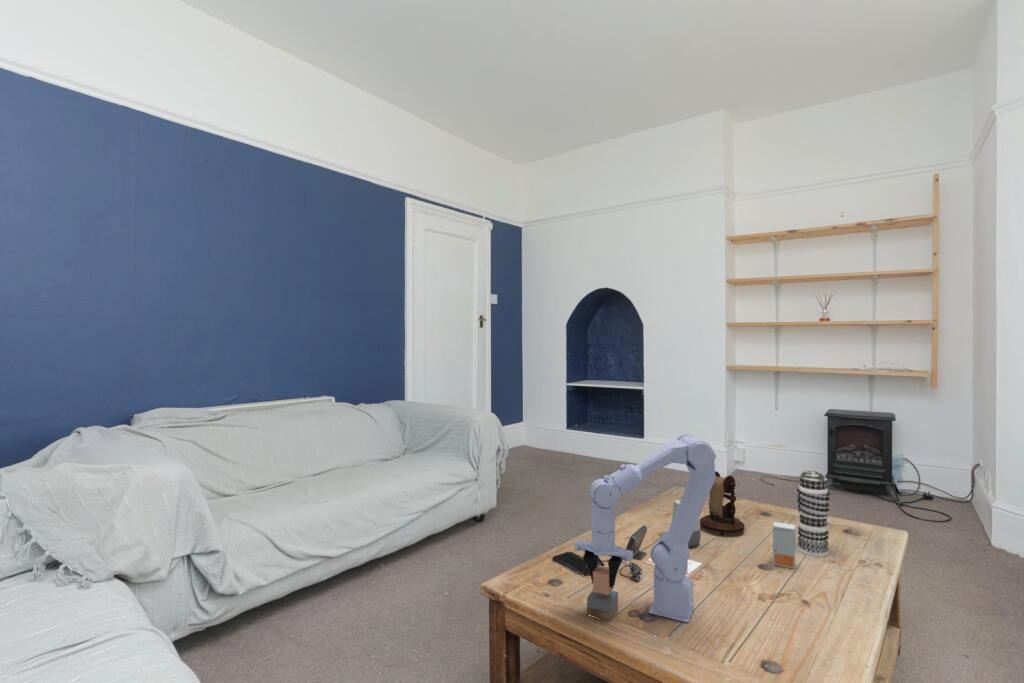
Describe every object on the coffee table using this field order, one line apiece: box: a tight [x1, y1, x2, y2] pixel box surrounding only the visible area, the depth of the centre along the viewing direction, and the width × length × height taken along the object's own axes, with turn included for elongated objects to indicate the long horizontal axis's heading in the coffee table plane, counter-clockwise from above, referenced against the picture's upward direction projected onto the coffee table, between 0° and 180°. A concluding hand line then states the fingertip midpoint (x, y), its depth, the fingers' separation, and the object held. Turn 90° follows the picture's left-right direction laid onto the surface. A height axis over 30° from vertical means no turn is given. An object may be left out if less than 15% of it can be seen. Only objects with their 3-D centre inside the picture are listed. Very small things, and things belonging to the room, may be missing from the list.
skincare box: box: [772, 521, 797, 570], centre depth 158 cm, size 6×4×12 cm
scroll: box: [699, 470, 746, 537], centre depth 187 cm, size 15×15×20 cm
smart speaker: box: [671, 499, 702, 548], centre depth 175 cm, size 10×9×14 cm
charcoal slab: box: [586, 589, 619, 613], centre depth 131 cm, size 6×6×2 cm
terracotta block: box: [592, 564, 615, 595], centre depth 131 cm, size 4×4×5 cm
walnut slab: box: [586, 603, 619, 623], centre depth 131 cm, size 6×6×2 cm
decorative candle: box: [796, 470, 831, 557], centre depth 168 cm, size 9×9×25 cm
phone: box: [552, 551, 591, 577], centre depth 159 cm, size 8×1×15 cm
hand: (603, 583), depth 131 cm, fingers closed on terracotta block, 4 cm apart
